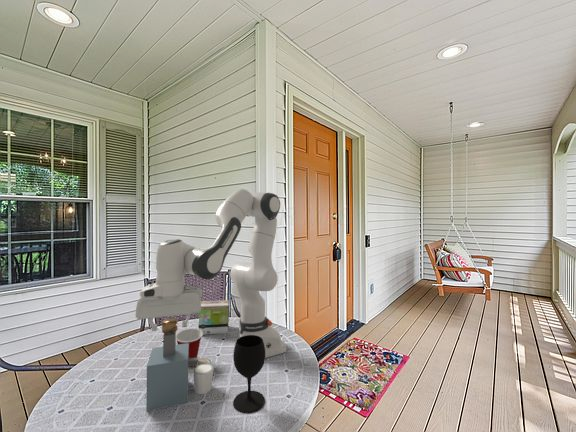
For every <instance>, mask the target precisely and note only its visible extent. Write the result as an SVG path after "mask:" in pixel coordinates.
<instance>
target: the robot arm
mask: <svg viewBox="0 0 576 432" xmlns="http://www.w3.org/2000/svg"><path fill="white" fill-rule="evenodd" d="M280 208H281V201H280V197H279V196H278V195H277V194H275V193H273V192H255V193H251V192H250V191H248V190H246V189H244V188H239V189H236V190H235V191H233V192H232V193H231V194H230V195H229V196H227V198H225V200H224V201H223V202H222V203H221V204H220V206H219V207H218V208H217V210H216V212H215V221H216V223H217V225H218V226H219V227H220V228H221V231H220V232H219V234H218V236H217V237H216V238H215V240H214V241H213V244H212V245H211V246H209V247H207V248H200V247H196V246H192V245H191V244H190V245H189V244H188V243H186V242H184V240H182V239H178V238H177V239H176V238H175V239H174V238H173V239H168V240H164V241H162V242H161V243H159V244H158V246H157V249H156V250H157V251H156V256H155V269H156V273H157V274H156V277H155V282H154V283H150V284H149V285H145V286H144V287H143V288H141V290H140V293H139V296H140V298H138V301H137V302H136V306H135V307H136V309H135V318H136V319H137V320H145V319H147V323H148V324H149V325H150V326H151V332H155V331H157V330H158V324H157V323H155V322H154V321H153V320H154V319H156V318H165V317H166V318H167V317H174V316H175V317H176V316H182V315H183V316H185V318H186V319H185V320H182V321H181V322H182V328H188V322H189V320H190V318H191V315H193V314H194V315H195V314H199V312H200V311H201V301H202V300H201V298H202V297H203V289H202V287H200V286H198V285H194V286H193V285H192V286H190V285H189V286H185V275H187V274H189V275H193V276H195V277H196V276H197V277H198V278H200V279H203V280H212V279H214V278H216V277H217V276H218V275H219V274H220V272H221V271H222V268H223V266H224V263H225V260H226V257H228V254H229V252H230V250H231V249H232V247H233V245H234V244H235V242H236V240H237V238H238V236H239V234H240V231H241V229H242V222H244V220H245V219H246V217H252V218H254V219H255V222H254V226H253V228H252V232H251V235H250V239H249V243H248V246H247V249H248V252H249V253H250V255H251V258H252V260H251V263H249V262H239V263H238V262H237V263H235V264H234V265H233V266H232V267H231V269H230V273H229V274H230V275H229V277H230V280H231V281H232V283H233V284H234V286H235V289H236V291H237V294H238V299H239V305H240V318H239V323H238V331H239V337H238V338H240V337H242V336H246V335H256V336H259V337H261V338H262V339H263V342H264V346H265V359H267V358H271V357H274V356H277V355H280V354H283V353H284V354H285V353H286V352H287V344H286V343H285V342H284V341H283V340H282V339H281V338H282V337H281V335H280V333H279V332H278V331H277V329H275V328H274V327H273V326H272V325H273V322H272V321H271V320H270V319H269V318H268V317H267V316H266V302H265V299H264V298H263V296H262V295H261V293H260V292H270V291H272V290H274V289H275V288H276V286H277V284H278V278H279V277H278V273H277V271H276V270H275V268H274V265H273V260H272V255H273V254H272V252H273V248H274V242H275V239H276V235H277V234H276V233H277V229H278V228H277V226H278V225H277V224H278V220H277V216H278V214H279V212H280Z"/></svg>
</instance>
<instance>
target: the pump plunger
mask: <svg viewBox="0 0 576 432" xmlns="http://www.w3.org/2000/svg"><path fill="white" fill-rule="evenodd" d="M178 322H179V321H178V318H174V317H171V318H170V317H169V318H166V319H164V320H162V321H161V333H163V334H164V333H167V335H169V334H172V333H173V332H175V331H176V332H177V331H178Z"/></svg>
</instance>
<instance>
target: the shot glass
mask: <svg viewBox="0 0 576 432" xmlns="http://www.w3.org/2000/svg"><path fill="white" fill-rule="evenodd" d="M213 375H214V365H212V364H211V363H201V364H197V368H193V382H194V392H195V393H196V394H199V395H200V394H203V395H204V394H206V393H208V392H210V390H211V389H212V386H213V385H212V384H213Z"/></svg>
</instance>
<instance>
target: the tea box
mask: <svg viewBox="0 0 576 432" xmlns="http://www.w3.org/2000/svg"><path fill="white" fill-rule="evenodd" d="M229 316H230V300H229V299H226V300H224V299H223V300H221V299H219V300H201V311H200V312H199V313H198V329H199V330H201V331H202V332H203V335H216V334H217V335H219V334H220V335H221V334H228V333H229V325H230V324H229V320H230V319H229Z"/></svg>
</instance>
